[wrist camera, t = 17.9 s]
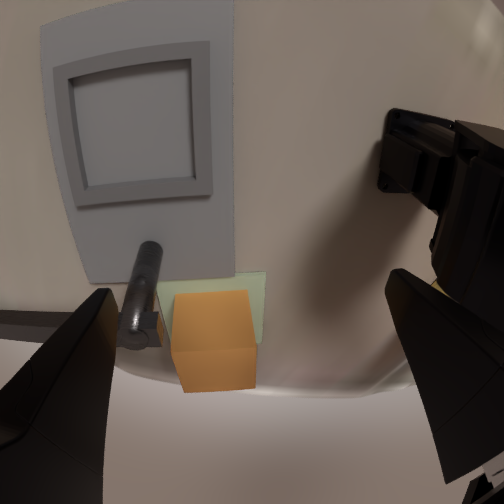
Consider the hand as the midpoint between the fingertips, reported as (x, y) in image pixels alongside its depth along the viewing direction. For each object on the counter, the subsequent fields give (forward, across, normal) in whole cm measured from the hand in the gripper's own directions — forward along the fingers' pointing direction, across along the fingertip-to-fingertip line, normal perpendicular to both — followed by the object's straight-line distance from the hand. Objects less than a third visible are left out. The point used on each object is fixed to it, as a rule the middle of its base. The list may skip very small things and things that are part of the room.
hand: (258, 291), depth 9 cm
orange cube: (+12, +2, +14) cm, 19 cm away
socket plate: (+12, +6, -1) cm, 14 cm away
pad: (+12, +2, +14) cm, 19 cm away
